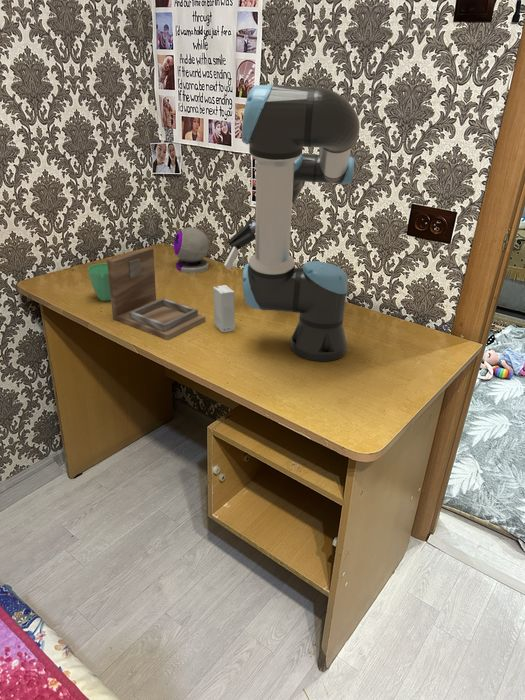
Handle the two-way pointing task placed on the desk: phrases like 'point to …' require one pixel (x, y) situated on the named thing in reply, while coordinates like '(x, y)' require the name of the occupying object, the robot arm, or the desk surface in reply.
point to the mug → (100, 280)
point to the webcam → (191, 250)
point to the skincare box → (224, 308)
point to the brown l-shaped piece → (145, 298)
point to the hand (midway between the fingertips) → (245, 272)
